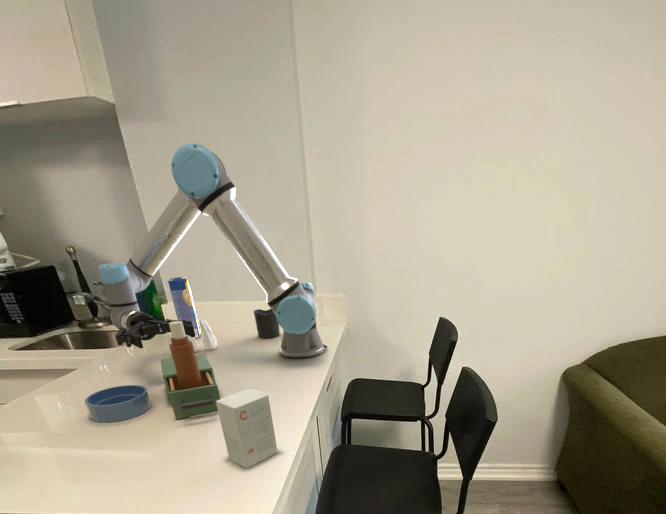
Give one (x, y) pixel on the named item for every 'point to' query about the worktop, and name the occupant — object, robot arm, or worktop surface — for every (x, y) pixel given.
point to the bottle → (184, 357)
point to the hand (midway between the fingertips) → (167, 337)
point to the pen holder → (266, 323)
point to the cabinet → (170, 371)
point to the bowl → (118, 403)
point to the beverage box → (184, 301)
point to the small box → (247, 427)
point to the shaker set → (205, 337)
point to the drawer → (194, 397)
